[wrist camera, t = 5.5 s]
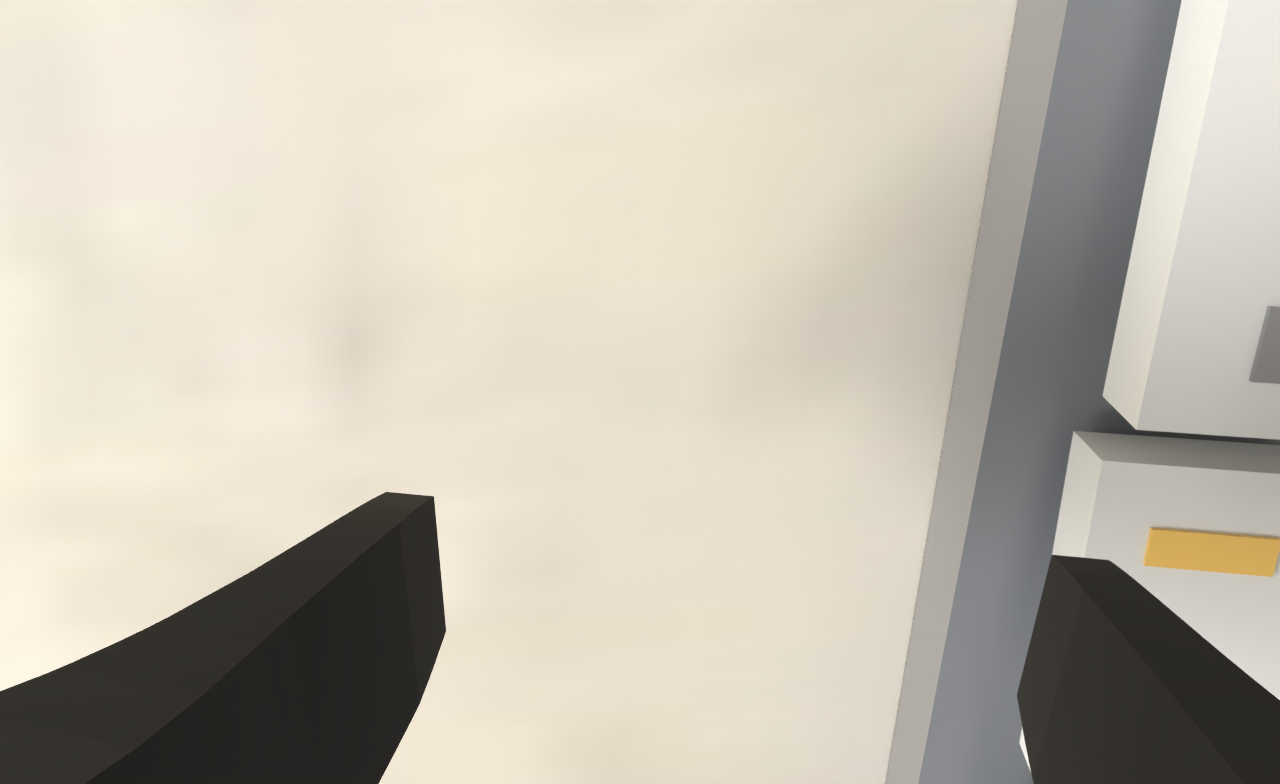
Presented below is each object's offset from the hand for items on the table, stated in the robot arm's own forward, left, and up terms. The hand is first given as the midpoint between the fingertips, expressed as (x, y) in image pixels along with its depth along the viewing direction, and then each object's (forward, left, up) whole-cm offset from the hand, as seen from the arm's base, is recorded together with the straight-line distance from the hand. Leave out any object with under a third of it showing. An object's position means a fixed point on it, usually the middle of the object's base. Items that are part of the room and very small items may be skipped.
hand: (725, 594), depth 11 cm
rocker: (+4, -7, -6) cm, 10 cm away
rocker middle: (-3, -7, -6) cm, 10 cm away
